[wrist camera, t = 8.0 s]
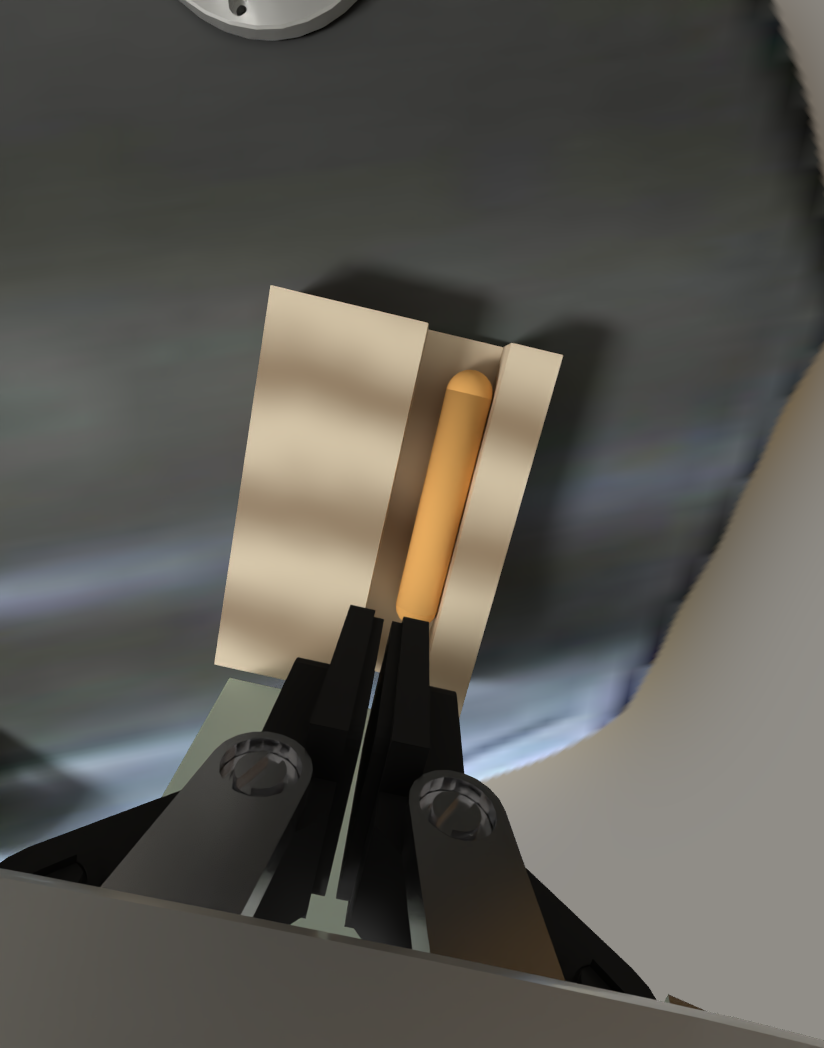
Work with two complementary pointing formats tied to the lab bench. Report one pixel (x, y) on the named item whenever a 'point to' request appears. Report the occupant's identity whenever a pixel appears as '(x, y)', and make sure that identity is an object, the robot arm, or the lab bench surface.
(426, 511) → the rod
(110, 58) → the lab bench surface
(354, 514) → the base
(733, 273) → the lab bench surface
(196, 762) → the plate
